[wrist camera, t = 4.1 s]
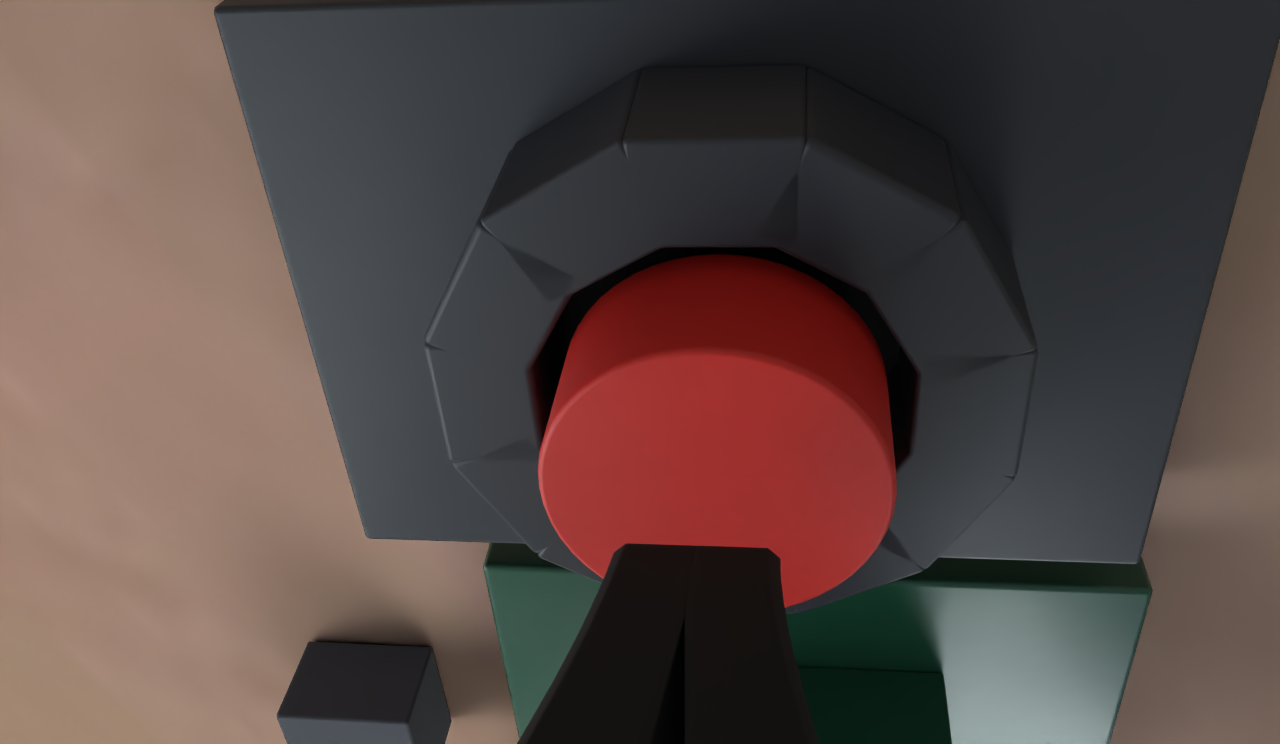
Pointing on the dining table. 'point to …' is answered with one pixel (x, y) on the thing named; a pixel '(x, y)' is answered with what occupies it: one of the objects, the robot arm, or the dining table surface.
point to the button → (723, 422)
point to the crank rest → (365, 696)
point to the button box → (762, 230)
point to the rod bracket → (897, 648)
